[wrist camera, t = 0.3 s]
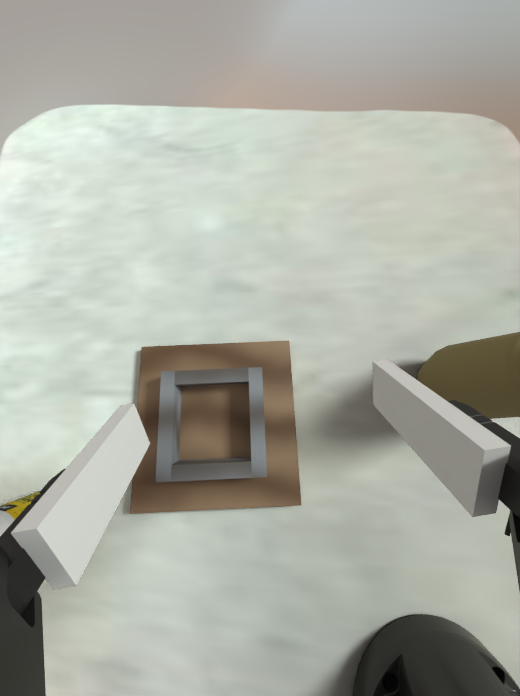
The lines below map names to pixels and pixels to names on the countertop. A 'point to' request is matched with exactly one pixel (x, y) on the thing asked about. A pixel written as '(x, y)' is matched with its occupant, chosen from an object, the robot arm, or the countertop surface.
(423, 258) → the countertop surface
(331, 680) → the countertop surface
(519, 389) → the squeeze bottle
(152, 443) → the socket holder
